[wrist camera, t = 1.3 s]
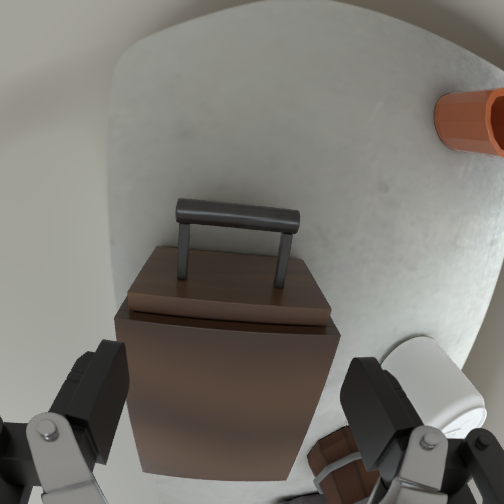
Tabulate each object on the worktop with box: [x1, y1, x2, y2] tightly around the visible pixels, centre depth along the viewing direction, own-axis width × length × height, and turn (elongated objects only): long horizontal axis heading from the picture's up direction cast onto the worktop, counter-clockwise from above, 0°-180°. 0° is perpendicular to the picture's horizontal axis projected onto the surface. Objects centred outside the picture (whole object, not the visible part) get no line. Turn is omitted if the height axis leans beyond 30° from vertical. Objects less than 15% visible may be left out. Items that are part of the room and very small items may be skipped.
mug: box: [307, 427, 381, 504], centre depth 30 cm, size 16×12×15 cm
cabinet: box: [114, 295, 341, 481], centre depth 24 cm, size 17×13×10 cm
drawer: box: [128, 198, 331, 326], centre depth 23 cm, size 20×12×8 cm, turn 173°
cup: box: [434, 88, 504, 160], centre depth 19 cm, size 6×6×7 cm
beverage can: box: [381, 337, 487, 439], centre depth 26 cm, size 8×8×12 cm
